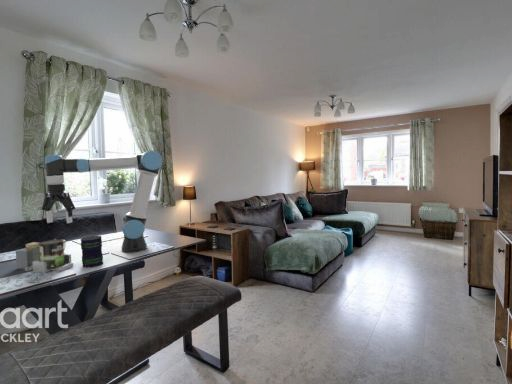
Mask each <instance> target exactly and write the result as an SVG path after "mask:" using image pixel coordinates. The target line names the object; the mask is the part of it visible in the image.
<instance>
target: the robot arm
mask: <svg viewBox="0 0 512 384" xmlns="http://www.w3.org/2000/svg"><path fill="white" fill-rule="evenodd" d="M44 160H45V161H44V166H45V174H46V184H47V192H46V193H44V200H43V203H42V207H41V210H42V211H44V212H45V218H46V223H47V224H50V223H54V216H53V210H52V208H53V206H54V204H55V203H56V202H58V203H59V202H60V204H61V205H62V206H63V207H64V209H65V215H66V216H65V218H66V224H71V223H73V210H74V211H75V210H76V206H75V205H74V203H73V200H72V198H71V196H70V192H65V191H66V188H65V187H66V185H65V177H64V176H65V175H64V173H66V174H67V173H80V174H81V173H90V172H91V173H92V172H102V171H103V172H105V171H115V170H116V171H117V170H127V169H128V170H129V169H136V170H138V172H139V176H138V180H137V185H136V188H135V191H134V195H133V200H132V202H131V208H130V210H129V212H127V213H126V214H124V215H123V216H122V225H123V226H122V234H123V240H122V241H123V242H122V245H121V252H123V253H124V252H125V253H135V251H136V252H140V250H141V251H144V250H146V249H147V248H148V244H147V243H146V240H145V237H144V234H145V231H146V229H145V227H146V222H147V219H148V216H146V213H147V207H148V205H149V201H150V196H151V193H152V189H153V186H154V182H155V178H156V177H157V176H158V175H159V174H160V173H159V172H160V169H161V167H162V164H163V157H162V155H161V154H160V152H158V151H155V150H151V149H149V150H146V151H144V152H143V153H141V154H140V153H139V154H135V155H134V156H119V157H118V156H117V157H105V158H104V157H103V158H89V159H87V158H81V157H80V158H63V155H62V154H61V155H59V154H49V155H45V156H44ZM145 248H146V249H145ZM143 249H144V250H143Z"/></svg>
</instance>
